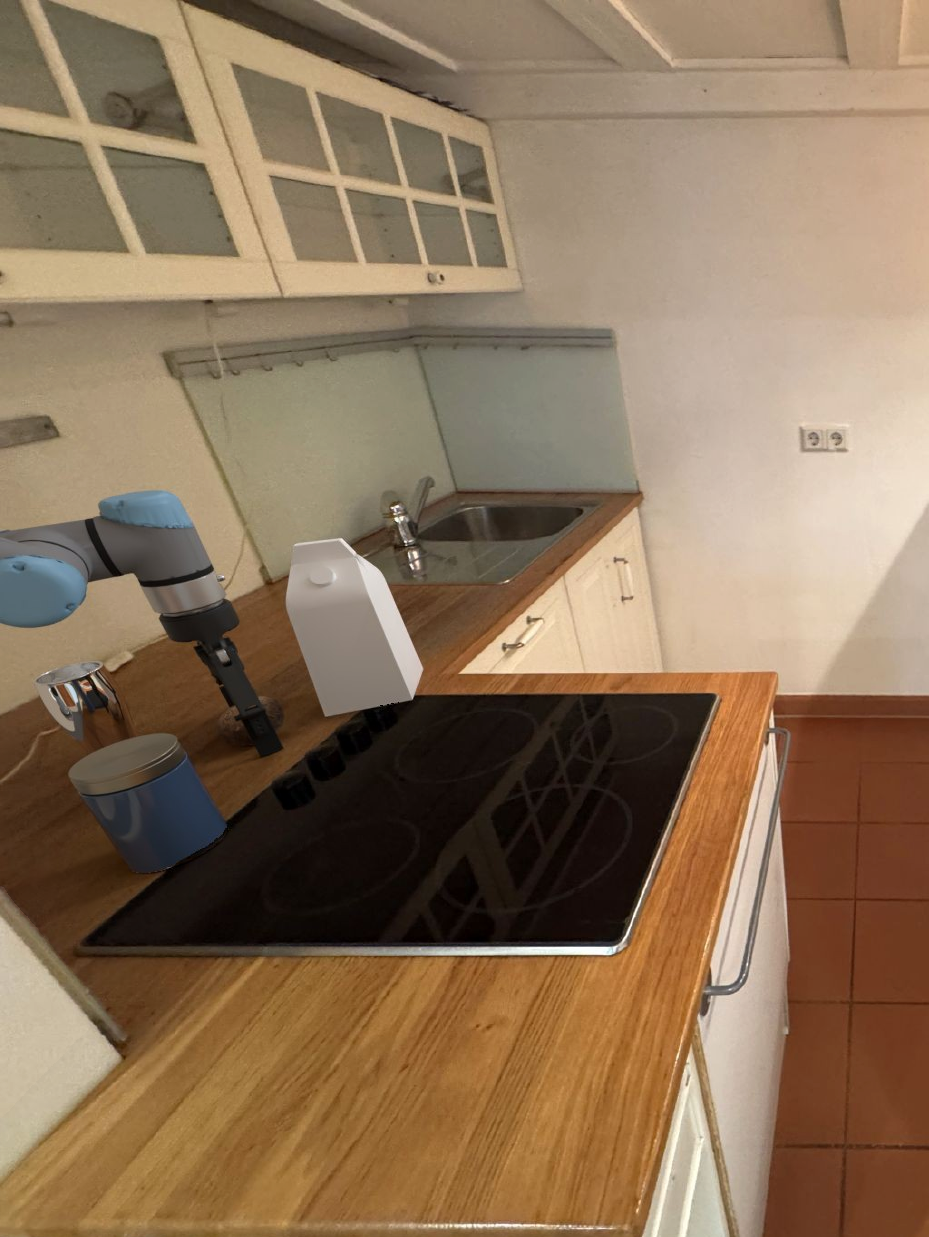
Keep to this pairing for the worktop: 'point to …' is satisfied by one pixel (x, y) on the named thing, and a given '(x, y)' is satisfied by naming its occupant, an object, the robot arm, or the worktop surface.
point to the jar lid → (126, 764)
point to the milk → (349, 629)
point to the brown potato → (236, 730)
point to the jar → (159, 818)
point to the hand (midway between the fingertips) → (260, 735)
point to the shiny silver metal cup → (87, 704)
